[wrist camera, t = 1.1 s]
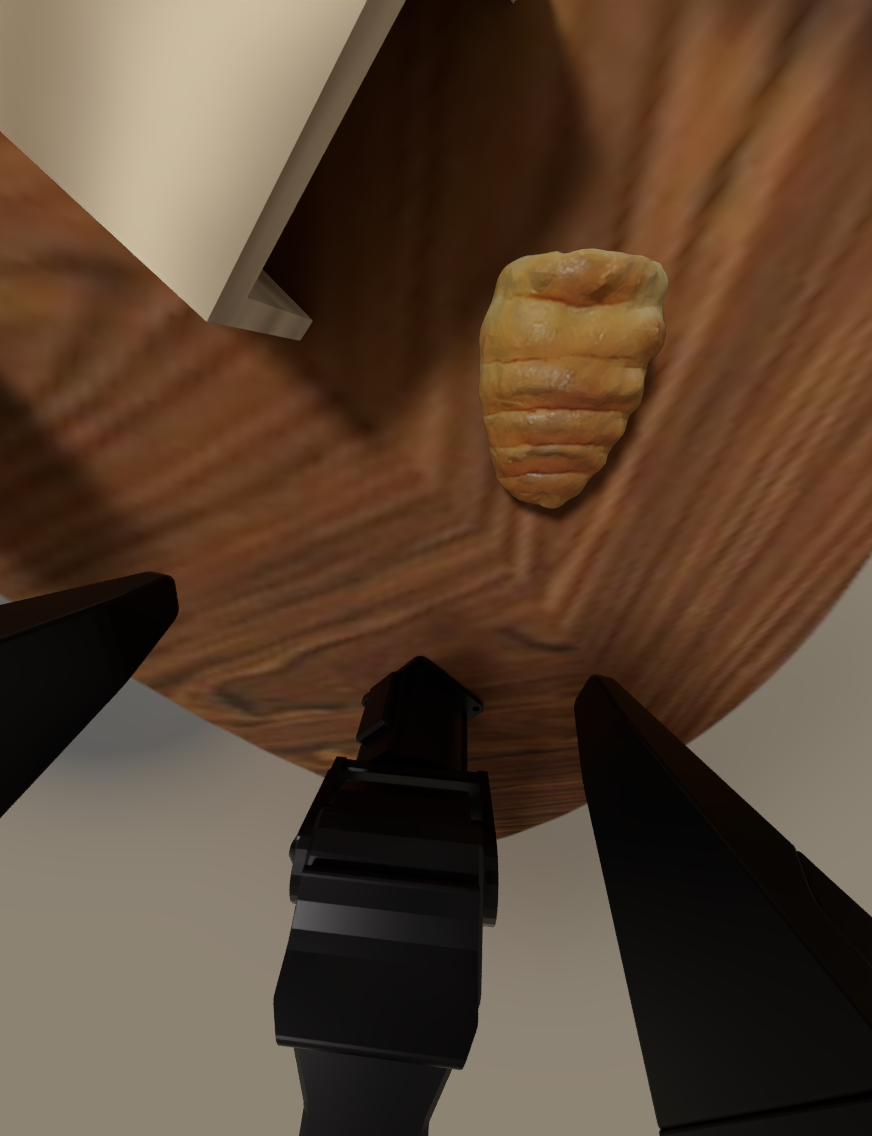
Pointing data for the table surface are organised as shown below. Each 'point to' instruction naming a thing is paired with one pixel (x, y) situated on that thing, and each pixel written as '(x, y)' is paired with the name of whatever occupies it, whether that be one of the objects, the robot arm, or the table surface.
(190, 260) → the plain beige box
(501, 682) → the table surface
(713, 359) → the table surface
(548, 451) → the pastry
